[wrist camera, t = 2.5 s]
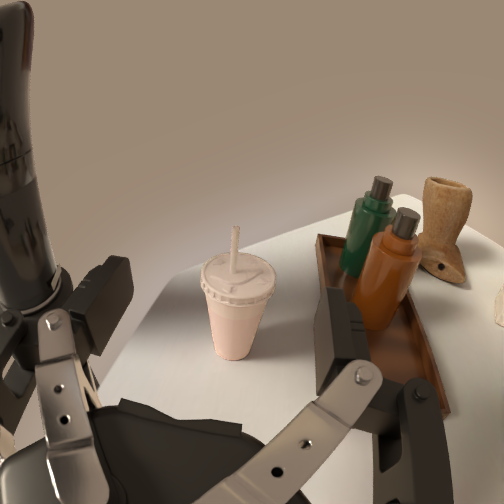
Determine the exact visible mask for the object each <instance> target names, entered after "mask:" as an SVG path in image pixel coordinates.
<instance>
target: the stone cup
mask: <svg viewBox="0 0 504 504" xmlns="http://www.w3.org/2000/svg"><path fill="white" fill-rule="evenodd" d="M471 203H472V191H471V189H470V188H467V187H466V186H465V185H463V184H461V183H458V182H455V181H450V180H446V179H443V178H437V177H429V178H427V179H426V181H425V186H424V191H423V219H424V220H423V233H420V234H419V235H418V239H419V242H418V245H417V246H418V247H419V248H420V250H421V252H422V259H421V261H420V264H421V265H422V266H423V267H424V268H425V269H426V270H427V271H429V272H430V273H431V274H432V275H434V276H435V277H438V278H440V279H442V280H445V281H449V282H455V283H463V282H464V281H465V273H464V267H463V262H462V258H461V254H460V251H459V249H458V247H457V246H456V245H455V243H456V240H457V238H458V235H459V234H460V232H461V230H462V228H463V226H464V225H465V223H466V221H467V218H468V215H469V211H470V207H471Z"/></svg>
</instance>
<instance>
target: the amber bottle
mask: <svg viewBox="0 0 504 504" xmlns="http://www.w3.org/2000/svg"><path fill="white" fill-rule="evenodd" d="M420 218H421V217H420V215H419V214H418V213H417V212H415V211H413V210H411V209H409V208H404V207H400V208H398V211H397V214H396V217H395V220H394V223H393V225H388V226H386V227H385V230H384V232H378V233H376V234H375V235H374V236H373V238H372V241H371V244H370V247H369V250H368V253H367V256H366V259H365V262H364V265H363V267H362V270H361V273H360V276H359V279H358V281H357V284H356V287H355V289H354V292H353V295H352V297H351V300H350V302H354V303H355V305H356V306H357V307H358V309H359V310H360V311H361V314H362V319H363V324H364V328H365V329H368V330H373V331H379V330H384V329H386V328H387V327H389V326H390V324H391V322H392V320H393V318H394V316H395V314H396V312H397V310H398V308H399V306H400V304H401V302H402V300H403V298H404V296H405V294H406V292H407V290H408V288H409V286H410V284H411V281H412V279H413V277H414V275H415V272H416V270H417V268H418V266H419V263H420V261H421V259H422V252H421V250H420V248H419V247H418V246H417V245H418V242H419V239H418V237H417V235H416V234H415V232H416V230H417V227H418V224H419V221H420Z"/></svg>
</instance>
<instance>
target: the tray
mask: <svg viewBox="0 0 504 504" xmlns="http://www.w3.org/2000/svg"><path fill="white" fill-rule="evenodd" d="M344 242H345V238H343V237H336V236H330V235H323V234H322V235H321V234H318V235H317V240H316V244H315V247H316V255H317V263H318V272H319V280H320V289H321V295H322V291H323V288H324V287H325V286H327V287H335V288H343V289H344V293H345V298H346V302H350V300H351V297H352V295H353V292H354V289H355V287H356V284H357V281H358V278H354V277H352V276H350V275H348V274H346V273H345V272H344V271H343V270H342V269H341V268H340V266H339V259H340V256H341V252H342V249H343V245H344ZM365 332H366V337H367V342H368V346H369V351H370V356H371V361H372V363H373V364H374V365H376V366H377V367H378V368H379V370H380V371H381V373H382V376H383V377H384V378H386V379H389V380H392V381H395V382H398V383H401V384H406V382H407V381H409V380H410V379H412V378H423V379H425V380H427V381H429V382H430V383H431V384H432V385H433V386H434V387H435V389H436V391H437V394H438V399H439V403H440V408H441V413H442V418H443V420H444V419H445V418H446V417H447V416H448V415H449V414H450V413H451V411H450V408H449V404H448V401H447V397H446V394H445V390H444V387H443V384H442V380H441V377H440V374H439V371H438V368H437V365H436V362H435V359H434V356H433V353H432V350H431V347H430V345H429V342H428V339H427V336H426V334H425V331H424V328H423V326H422V323H421V320H420V318H419V315H418V313H417V310H416V308H415V305H414V303H413V300H412V298H411V296H410V293H409V291H408V290H407V292H406V294H405V296H404V298H403V300H402V302H401V304H400V306H399V308H398V310H397V312H396V314H395V316H394V318H393V320H392V322H391V324H390V326H389V327H387V328H386V329H384V330H379V331H373V330H368V329H365ZM352 428H353V427H352Z"/></svg>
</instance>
